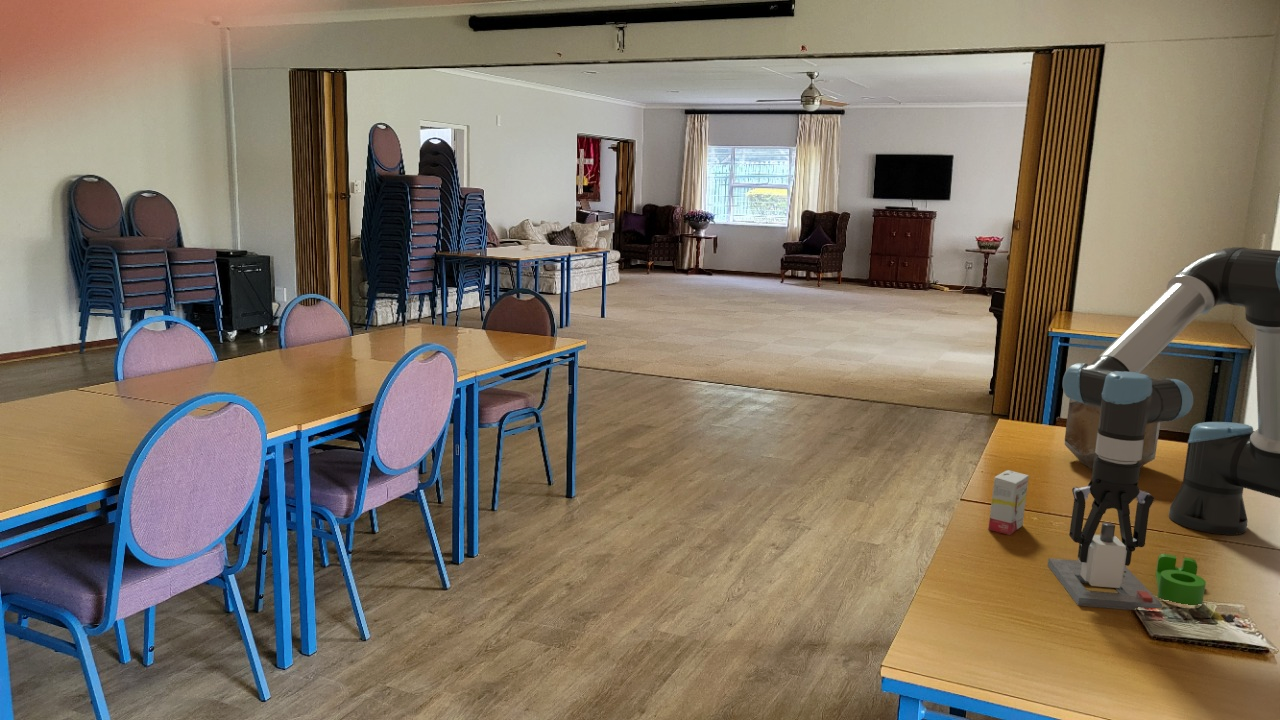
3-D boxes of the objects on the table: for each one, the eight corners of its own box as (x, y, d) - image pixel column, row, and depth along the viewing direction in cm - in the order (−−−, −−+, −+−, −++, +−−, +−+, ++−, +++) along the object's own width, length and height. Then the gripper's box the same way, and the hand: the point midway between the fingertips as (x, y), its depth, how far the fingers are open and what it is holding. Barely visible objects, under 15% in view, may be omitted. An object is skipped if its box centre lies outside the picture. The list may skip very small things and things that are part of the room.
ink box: (1010, 536, 200) (1016, 483, 198) (987, 530, 203) (992, 477, 201) (1024, 525, 206) (1030, 474, 204) (1001, 520, 210) (1007, 469, 207)
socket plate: (1122, 571, 183) (1123, 561, 183) (1160, 612, 166) (1162, 601, 165) (1047, 565, 185) (1048, 555, 185) (1078, 605, 167) (1079, 594, 167)
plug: (1110, 576, 175) (1117, 520, 173) (1120, 588, 171) (1128, 530, 168) (1082, 574, 176) (1089, 518, 174) (1091, 585, 171) (1099, 528, 169)
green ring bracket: (1203, 613, 167) (1207, 589, 166) (1158, 605, 170) (1161, 580, 169) (1195, 582, 180) (1199, 559, 179) (1153, 574, 183) (1156, 552, 182)
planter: (1174, 480, 243) (1187, 391, 238) (1079, 477, 243) (1091, 387, 239) (1131, 455, 265) (1143, 373, 260) (1044, 452, 265) (1054, 370, 260)
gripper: (1161, 455, 171) (1144, 575, 176) (1058, 448, 173) (1044, 567, 178) (1179, 467, 164) (1161, 592, 168) (1072, 460, 166) (1056, 584, 171)
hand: (1101, 579), depth 173 cm, fingers closed on plug, 5 cm apart
